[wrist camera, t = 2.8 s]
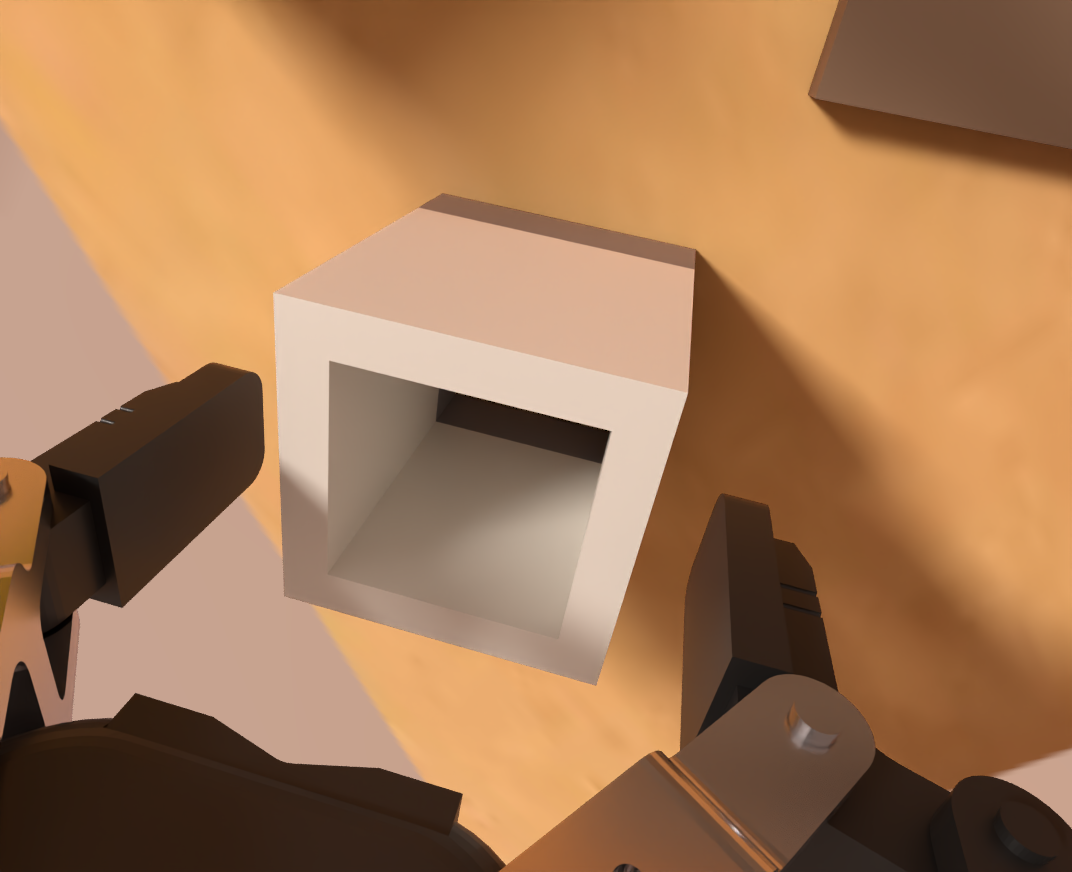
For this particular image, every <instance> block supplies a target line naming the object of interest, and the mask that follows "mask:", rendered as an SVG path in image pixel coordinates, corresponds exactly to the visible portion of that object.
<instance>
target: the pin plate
mask: <svg viewBox="0 0 1072 872" xmlns="http://www.w3.org/2000/svg"><path fill="white" fill-rule="evenodd" d="M808 95H810V96H811V97H813V98H815V99H820V100H825V101H830V102H835V103H840V104H845V105H850V106H855V107H860V108H865V109H871V110H876V111H881V112H886V113H891V114H896V115H901V116H906V117H911V118H916V119H921V120H926V121H931V122H936V123H942V124H947V125H952V126H957V127H962V128H967V129H972V130H977V131H982V132H987V133H992V134H997V135H1002V136H1008V137H1013V138H1018V139H1023V140H1028V141H1033V142H1038V143H1043V144H1048V145H1053V146H1058V147H1063V148H1068V149H1072V0H839V3H838V6H837V9H836V12H835V15H834V18H833V21H832V24H831V27H830V30H829V33H828V36H827V39H826V42H825V45H824V48H823V51H822V54H821V57H820V60H819V63H818V66H817V69H816V72H815V75H814V78H813V81H812V84H811V87H810V90H809V93H808Z"/></svg>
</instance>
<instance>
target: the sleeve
mask: <svg viewBox="0 0 1072 872" xmlns="http://www.w3.org/2000/svg"><path fill="white" fill-rule="evenodd" d="M695 253H696V249H691V248H687V247H682V246H678V245H673V244H669V243H664V242H660V241H655V240H651V239H646V238H642V237H637V236H632V235H628V234H623V233H619V232H614V231H610V230H605V229H601V228H596V227H592V226H587V225H583V224H578V223H574V222H569V221H565V220H560V219H556V218H551V217H547V216H542V215H538V214H533V213H529V212H524V211H520V210H515V209H511V208H506V207H502V206H497V205H493V204H488V203H484V202H479V201H475V200H470V199H466V198H461V197H456V196H452V195H447V194H443V193H442V194H441V195H439V196H437V197H436V198H434V199H432V200H430V201H429V202H427V203H425V204H424V205H422V206H420V207H419V208H417V209H415V210H413V211H412V212H410V213H408V214H407V215H405V216H403V217H401V218H400V219H398V220H396V221H395V222H393V223H391V224H390V225H388V226H386V227H384V228H383V229H381V230H379V231H378V232H376V233H374V234H373V235H371V236H369V237H367V238H366V239H364V240H362V241H361V242H359V243H357V244H355V245H354V246H352V247H350V248H349V249H347V250H345V251H344V252H342V253H340V254H338V255H337V256H335V257H333V258H332V259H330V260H328V261H326V262H325V263H323V264H321V265H320V266H318V267H316V268H315V269H313V270H311V271H309V272H308V273H306V274H304V275H303V276H301V277H299V278H297V279H296V280H294V281H292V282H291V283H289V284H287V285H286V286H284V287H282V288H280V289H279V290H277V291H275V292H274V293H273V295H274V323H275V351H276V380H277V408H278V436H279V464H280V492H281V520H282V548H283V573H284V574H283V575H284V596H286V597H289V598H293V599H296V600H300V601H303V602H307V603H310V604H314V605H317V606H320V607H324V608H327V609H331V610H334V611H338V612H341V613H345V614H348V615H352V616H355V617H359V618H362V619H366V620H369V621H373V622H376V623H380V624H383V625H387V626H390V627H394V628H397V629H401V630H404V631H408V632H411V633H415V634H418V635H422V636H425V637H429V638H432V639H435V640H439V641H442V642H446V643H449V644H453V645H456V646H460V647H463V648H467V649H470V650H474V651H477V652H481V653H484V654H488V655H491V656H495V657H498V658H502V659H505V660H509V661H512V662H516V663H519V664H523V665H526V666H530V667H533V668H537V669H540V670H544V671H547V672H551V673H554V674H557V675H561V676H564V677H568V678H571V679H575V680H578V681H582V682H585V683H589V684H592V685H597V681H598V678H599V675H600V672H601V669H602V666H603V662H604V659H605V656H606V653H607V650H608V646H609V643H610V640H611V637H612V634H613V630H614V627H615V624H616V621H617V618H618V615H619V611H620V608H621V605H622V602H623V599H624V595H625V592H626V589H627V586H628V583H629V579H630V576H631V573H632V570H633V567H634V564H635V560H636V557H637V554H638V551H639V548H640V544H641V541H642V538H643V535H644V532H645V528H646V525H647V522H648V519H649V516H650V513H651V509H652V506H653V503H654V500H655V497H656V493H657V490H658V487H659V484H660V481H661V478H662V474H663V471H664V468H665V465H666V462H667V458H668V455H669V452H670V449H671V446H672V442H673V439H674V436H675V433H676V430H677V427H678V423H679V420H680V417H681V414H682V411H683V407H684V404H685V401H686V398H687V395H688V384H689V365H690V347H691V328H692V309H693V291H694V272H695ZM455 392H457V393H461V394H465V395H469V396H473V397H477V398H481V399H485V400H489V401H493V402H497V403H501V404H505V405H509V406H513V407H517V408H521V409H525V410H529V411H533V412H537V413H541V414H545V415H549V416H553V417H557V418H561V419H565V420H569V421H573V422H577V423H581V424H585V425H589V426H593V427H597V428H601V429H605V430H609V431H610V432H606V431H602V430H598V429H594V428H590V427H586V426H582V425H578V424H574V423H570V422H566V421H562V420H558V419H554V418H550V417H546V416H542V415H538V414H534V413H530V412H526V411H522V410H518V409H514V408H510V407H506V406H502V405H498V404H494V403H490V402H486V401H482V400H478V399H474V398H470V397H466V396H462V395H458V394H455Z"/></svg>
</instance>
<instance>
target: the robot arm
mask: <svg viewBox="0 0 1072 872" xmlns="http://www.w3.org/2000/svg"><path fill="white" fill-rule="evenodd" d="M264 451H265V446H264V419H263V393H262V383H261V380H260V378H259V376H258V375H257V374H256V373H253V372H250V371H246V370H242V369H238V368H234V367H230V366H226V365H222V364H218V363H209V364H207V365H205V366H204V367H202V368H200V369H199V370H197V371H196V372H194V373H193V374H191V375H189V376H188V377H186V378H185V379H183V380H181V381H180V382H174V383H171V384H168V385H165V386H161V387H158V388H155V389H152V390H148V391H145V392H143V393H142V394H140V395H138V396H137V397H135V398H133V399H132V400H130V401H128V402H127V403H125V404H124V405H122V406H121V408H120V410H117V409H115V410H114V411H112V412H110V413H109V414H107V415H105V416H104V417H102V418H101V421H100V422H97V421H96V422H94V423H92V424H91V425H90V426H87V427H86V428H84V429H83V430H81V431H79V432H78V433H76V434H74V435H73V436H71V437H69V438H68V439H66V440H64V441H63V442H61V443H60V444H58V445H56V446H55V447H53V448H51V449H50V450H48V451H46V452H45V453H43V454H41V455H40V456H38V457H36V458H35V459H33V460H32V461H27V460H23V459H17V458H3V457H1V458H0V872H1072V829H1071V828H1070V827H1069V825H1068V824H1067V823H1066V822H1065V821H1064V820H1063V819H1062V818H1061V817H1060V816H1059V815H1058V814H1057V813H1055V812H1054V811H1053V810H1052V809H1051V808H1050V807H1049V806H1047V805H1046V804H1045V803H1043V802H1042V801H1041V800H1039V799H1038V798H1037V797H1035V796H1034V795H1032V794H1030V793H1029V792H1027V791H1026V790H1024V789H1022V788H1020V787H1018V786H1016V785H1014V784H1012V783H1009V782H1007V781H1004V780H1001V779H998V778H994V777H989V776H971V777H968V778H965V779H963V780H962V781H960V782H959V783H958V784H957V785H956V786H955V788H954V789H953V790H952V791H951V792H949V791H947V790H945V789H943V788H942V787H940V786H938V785H936V784H934V783H933V782H931V781H929V780H927V779H925V778H923V777H922V776H920V775H918V774H916V773H914V772H913V771H911V770H909V769H907V768H905V767H904V766H902V765H900V764H898V763H897V762H895V761H893V760H892V759H890V758H889V757H887V756H886V755H884V754H883V753H882V752H880V751H879V750H878V749H877V748H875V742H874V737H873V734H872V732H871V729H870V727H869V725H868V724H867V722H866V720H865V718H864V717H863V716H862V714H861V713H860V712H859V711H858V709H857V708H856V707H855V706H854V705H853V704H852V703H851V702H850V701H849V700H847V699H846V698H845V697H844V696H843V695H842V694H840V693H839V692H838V689H837V684H836V680H835V675H834V670H833V665H832V661H831V656H830V651H829V646H828V642H827V637H826V632H825V628H824V623H823V618H820V616H821V609H820V604H819V599H818V597H816V594H817V590H816V585H815V580H814V575H813V571H812V568H811V566H810V565H809V563H808V562H807V561H806V559H805V558H804V556H803V555H802V554H801V552H800V551H799V550H798V548H797V547H796V545H795V544H794V543H790V542H786V541H782V540H778V539H774V538H773V531H772V524H771V517H770V510H769V507H768V505H766V504H762V503H758V502H754V501H750V500H746V499H742V498H738V497H735V496H731V495H727V494H721V495H720V496H719V498H718V499H717V502H716V504H715V506H714V509H713V512H712V514H711V517H710V520H709V523H708V525H707V528H706V531H705V533H704V536H703V539H702V542H701V544H700V547H699V550H698V552H697V555H696V558H695V561H694V563H693V566H692V569H691V573H690V576H689V580H688V585H687V590H686V597H685V614H684V645H683V675H682V706H681V737H680V751H679V752H678V753H677V754H675V755H674V756H672V757H671V758H668V757H667V756H666V755H665V754H664V753H663V752H662V751H654V752H652V753H650V754H648V755H647V756H645V757H643V758H642V759H641V760H639V761H638V762H637V763H635V764H634V765H633V766H632V767H630V768H629V769H628V770H627V771H625V772H624V773H623V774H621V775H620V776H619V777H618V778H616V779H615V780H614V781H613V782H611V783H610V784H609V785H608V786H606V787H605V788H604V789H602V790H601V791H600V792H599V793H597V794H596V795H595V796H594V797H592V798H591V799H590V800H589V801H587V802H586V803H585V804H584V805H582V806H581V807H580V808H578V809H577V810H576V811H575V812H573V813H572V814H571V815H570V816H568V817H567V818H566V819H565V820H563V821H562V822H561V823H559V824H558V825H557V826H556V827H554V828H553V829H552V830H551V831H549V832H548V833H547V834H546V835H544V836H543V837H542V838H541V839H539V840H538V841H537V842H535V843H534V844H533V845H532V846H530V847H529V848H528V849H527V850H525V851H524V852H523V853H522V854H520V855H519V856H518V857H516V858H515V859H514V860H513V861H511V862H510V863H509V864H508V865H505V863H504V862H503V861H502V860H501V859H500V858H499V857H498V856H497V855H496V854H495V852H494V851H493V850H492V849H491V848H490V847H489V846H488V845H487V844H485V843H484V842H483V841H482V840H481V839H480V838H478V837H477V836H476V835H475V834H474V833H472V832H471V831H469V830H468V829H466V828H465V827H463V826H462V825H460V824H459V823H457V821H458V816H459V811H460V805H461V800H462V795H463V794H462V793H458V792H455V791H452V790H449V789H445V788H442V787H439V786H436V785H432V784H429V783H426V782H423V781H419V780H416V779H413V778H410V777H406V776H403V775H400V774H397V773H393V772H390V771H387V770H384V769H380V768H366V767H347V766H327V765H309V764H308V765H307V764H292V763H286V762H282V761H280V760H278V759H276V758H274V757H273V756H271V755H270V754H268V753H267V752H265V751H264V750H262V749H261V748H259V747H258V746H256V745H255V744H253V743H252V742H250V741H249V740H247V739H245V738H244V737H243V736H241V735H240V734H238V733H237V732H235V731H233V730H232V729H230V728H229V727H227V726H226V725H224V724H223V723H221V722H220V721H218V720H217V719H215V718H214V717H212V716H208V715H205V714H202V713H198V712H195V711H192V710H189V709H186V708H182V707H179V706H176V705H173V704H169V703H166V702H163V701H160V700H156V699H153V698H150V697H146V696H143V695H140V694H137V693H135V694H134V695H133V697H132V698H131V699H130V700H129V701H128V702H127V703H126V704H125V705H124V707H123V708H122V709H121V710H120V711H119V712H118V713H117V715H116V716H115V717H114V718H102V719H85V720H78V721H72V710H73V699H74V687H75V676H76V665H77V653H78V642H79V641H78V640H79V629H80V619H79V615H78V611H77V608H79V607H80V606H81V605H82V604H83V603H84V602H85V601H86V600H88V599H89V598H91V599H94V600H97V601H101V602H104V603H108V604H111V605H114V606H118V607H121V608H122V607H123V606H125V605H126V604H127V602H129V600H131V599H132V598H133V597H134V596H135V595H136V594H137V593H138V592H139V591H140V590H141V589H142V588H143V587H144V586H145V585H146V584H147V583H148V582H149V581H150V580H152V579H153V578H154V577H155V576H156V575H157V574H158V573H159V572H160V571H161V570H162V569H163V568H164V567H165V566H166V565H167V564H168V563H169V562H170V561H172V559H174V558H175V557H176V556H177V555H178V554H179V553H180V552H181V551H182V550H183V549H184V548H185V547H186V546H187V545H188V544H189V543H190V542H191V541H192V540H193V539H194V538H195V537H197V536H198V535H199V534H200V533H201V532H202V531H203V530H204V529H205V528H206V527H207V526H208V525H209V524H210V523H211V522H212V521H213V520H214V519H215V518H216V517H217V516H218V515H220V513H222V511H224V510H225V509H226V508H227V507H228V506H229V505H230V504H231V503H232V502H233V501H234V500H235V499H236V498H237V497H238V496H239V495H240V494H241V493H243V492H244V491H245V490H246V489H247V488H248V487H249V486H250V485H251V484H252V483H253V481H254V480H255V479H256V477H257V475H258V473H259V471H260V469H261V466H262V463H263V459H264Z"/></svg>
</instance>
